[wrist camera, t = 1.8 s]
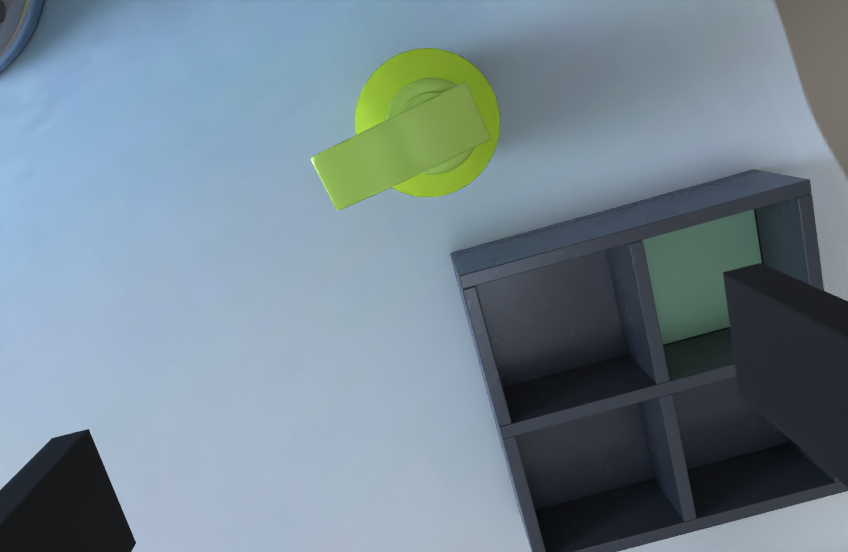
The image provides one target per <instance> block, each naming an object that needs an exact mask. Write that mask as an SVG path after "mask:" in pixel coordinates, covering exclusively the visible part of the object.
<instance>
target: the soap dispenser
mask: <svg viewBox="0 0 848 552" xmlns="http://www.w3.org/2000/svg"><path fill="white" fill-rule="evenodd" d="M499 130H500V115H499V108H498V104H497V100H496V97H495V94H494V92H493V90H492V88H491V86H490V84H489V83H488V81H487V79H486V78H485V77H484V75H483V74H482V73H481V72H480V71H479V70H478V69H477V68H476V67H475V66H474V65H473V64H471V63H470V62H469V61H467V60H466V59H464V58H462V57H461V56H459V55H457V54H454V53H452V52H449V51H445V50H441V49H433V48H422V49H414V50H410V51H406V52H403V53H401V54H398V55H396V56H394V57H392V58H391V59H389V60H388V61H386V62H385V63H383V64H382V65H381V66H380V67H379V68H378V69H377V70H376V71H375V72H374V73H373V74H372V75H371V77H370V78H369V79H368V81H367V82H366V84H365V86H364V88H363V90H362V92H361V94H360V97H359V99H358V103H357V107H356V113H355V133H356V135H355V136H353V137H351V138H349V139H347V140H345V141H343V142H341V143H339V144H337V145H335V146H333V147H331V148H329V149H327V150H325V151H323V152H321V153H319V154H317V155H315V156H313V157H311V161H312V164H313V166H314V168H315V170H316V172H317V174H318V175H319V177H320V179H321V181H322V183H323V185H324V187H325V189H326V191H327V193H328V195H329V197H330V199H331V201H332V203H333V205H334V207H335V208H336V210H341V209H344V208H346V207H348V206H351V205H353V204H355V203H357V202H360V201H362V200H364V199H366V198H368V197H371V196H373V195H375V194H377V193H380V192H382V191H384V190H386V189H388V188H391V187H392V188H393V189H395V190H397V191H400V192H402V193H405V194H408V195H412V196H418V197H436V196H442V195H446V194H449V193H452V192H455V191H457V190H459V189H461V188H463V187H465V186H466V185H468V184H469V183H470V182H472V181H473V180H474V179H475V178H476V177H477V176H478V175H479V174H480V173H481V172H482V171H483V170H484V168H485V167H486V166H487V164H488V163H489V161H490V159H491V157H492V155H493V153H494V151H495V148H496V145H497V141H498V137H499Z"/></svg>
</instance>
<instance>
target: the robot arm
mask: <svg viewBox="0 0 848 552" xmlns="http://www.w3.org/2000/svg"><path fill="white" fill-rule="evenodd" d="M43 1H44V0H0V72H1V71H2V70H4V69H5V68H6V67H7V66H8V65H9V64H10V63H11V62H12V61H13V60H14V59H15V58H16V57H17V56H18V54H19V53H20V52H21V51H22V49H23V48H24V47H25V45H26V43H27V42H28V40H29V39H30V37H31V35H32V33H33V31H34V29H35V26H36V24H37V21H38V18H39V16H40V13H41V9H42V5H43ZM723 277H724V285H725V293H726V300H727V308H728V315H729V323H730V331H731V338H732V346H733V354H734V361H735V369H736V376H737V384H738V392H739V396H740V397H741V398H743V399H744V400H745V401H746V402H747V403H748V404H750V405H751V406H752V407H753V408H754V409H755V410H757V411H758V412H759V413H760V414H761V415H763V416H764V417H765V418H766V419H767V420H768V421H770V422H771V423H772V424H773V425H774V426H776V427H777V428H778V429H779V430H780V431H781V432H783V433H784V434H785V435H786V436H787V437H788V438H790V439H791V440H792V441H793V442H794V443H796V444H797V445H798V446H799V447H800V448H801V449H803V450H804V451H805V452H806V453H807V454H809V455H810V456H811V457H812V458H813V459H814V460H816V461H817V462H818V463H819V464H820V465H822V466H823V467H824V468H825V469H826V470H827V471H829V472H830V473H831V474H832V475H833V476H834V477H836V478H837V479H838V480H839V481H840V482H842V483H843V484H844V485H845V486H846V487H847V488H848V301H845V300H843V299H841V298H839V297H836V296H834V295H832V294H830V293H827V292H825V291H823V290H821V289H818V288H816V287H814V286H812V285H809V284H807V283H805V282H802V281H800V280H798V279H796V278H793V277H791V276H789V275H787V274H784V273H782V272H780V271H778V270H775V269H773V268H771V267H768V266H766V265H764V264H762V263H758V264H754V265H750V266H746V267H742V268H738V269H734V270H730V271H726V272H723ZM135 544H136V542H135V539H134V537H133V535H132V532H131V530H130V527H129V525H128V523H127V520H126V518H125V515H124V513H123V511H122V508H121V506H120V503H119V501H118V499H117V496H116V494H115V491H114V489H113V487H112V484H111V482H110V479H109V477H108V475H107V472H106V470H105V467H104V465H103V463H102V460H101V458H100V455H99V453H98V451H97V448H96V446H95V443H94V441H93V439H92V436H91V434H90V431H89V429H88V430H84V431H80V432H76V433H71V434H67V435H63V436H59V437H55V438H52V439H51V440H50V441H49V442H48V443H47V444H46V445H45V446H44V447H43V448H42V449H41V450H40V451H39V452H38V453H37V454H36V455H35V456H34V457H33V458H32V459H31V460H30V461H29V462H28V463H27V464H26V465H25V466H24V467H23V468H22V469H21V470H20V471H19V472H18V473H17V474H16V475H15V476H14V477H13V478H12V479H11V480H10V481H9V482H8V483H7V484H6V485H5V486H4V487H3V488H2V489H1V490H0V552H131V551H132V549H133V547H134V546H135Z"/></svg>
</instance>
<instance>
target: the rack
mask: <svg viewBox="0 0 848 552" xmlns="http://www.w3.org/2000/svg"><path fill="white" fill-rule="evenodd" d="M450 256H451V260H452V263H453V267H454V271H455V275H456V278H457V282H458V286H459V289H460V293H461V297H462V300H463V304H464V308H465V312H466V315H467V319H468V323H469V326H470V330H471V334H472V337H473V341H474V345H475V349H476V352H477V356H478V360H479V363H480V367H481V371H482V374H483V378H484V382H485V386H486V389H487V393H488V397H489V400H490V404H491V408H492V411H493V415H494V419H495V423H496V426H497V430H498V434H499V437H500V441H501V445H502V448H503V452H504V456H505V460H506V463H507V467H508V471H509V474H510V478H511V482H512V485H513V489H514V493H515V497H516V500H517V504H518V508H519V511H520V515H521V518H522V522H523V525H524V528H525V532H526V535H527V538H528V541H529V545H530V548H531V551H532V552H617V551H621V550H625V549H629V548H632V547H636V546H640V545H644V544H648V543H651V542H655V541H659V540H663V539H667V538H670V537H674V536H678V535H682V534H686V533H689V532H693V531H697V530H701V529H705V528H709V527H712V526H716V525H720V524H724V523H728V522H731V521H735V520H739V519H743V518H747V517H750V516H754V515H758V514H762V513H766V512H769V511H773V510H777V509H781V508H785V507H788V506H792V505H796V504H800V503H804V502H807V501H811V500H815V499H819V498H823V497H826V496H830V495H834V494H838V493H842V492H845V491H848V488H847V487H846V486H845V485H844V484H843V483H842V482H840V481H839V480H838V479H837V478H836V477H834V476H833V475H832V474H831V473H830V472H829V471H827V470H826V469H825V468H824V467H823V466H822V465H820V464H819V463H818V462H817V461H816V460H814V459H813V458H812V457H811V456H810V455H809V454H807V453H806V452H805V451H804V450H803V449H801V448H800V447H799V446H798V445H797V444H796V443H794V442H793V441H792V440H791V439H790V438H788V437H787V436H786V435H785V434H784V433H783V432H781V431H780V430H779V429H778V428H777V427H776V426H774V425H773V424H772V423H771V422H770V421H768V420H767V419H766V418H765V417H764V416H763V415H761V414H760V413H759V412H758V411H757V410H755V409H754V408H753V407H752V406H751V405H750V404H748V403H747V402H746V401H745V400H744V399H743V398H741V397H740V396H739V392H738V384H737V376H736V369H735V361H734V354H733V346H732V338H731V331H730V323H729V315H728V308H727V300H726V293H725V285H724V277H723V272H726V271H730V270H734V269H738V268H742V267H746V266H750V265H754V264H758V263H762V264H764V265H766V266H768V267H771V268H773V269H775V270H778V271H780V272H782V273H784V274H787V275H789V276H791V277H793V278H796V279H798V280H800V281H802V282H805V283H807V284H809V285H812V286H814V287H816V288H818V289H821V290H823V291H824V288H823V280H822V272H821V264H820V257H819V249H818V241H817V233H816V225H815V217H814V209H813V201H812V195H811V185H810V180H809V179H803V178H798V177H792V176H786V175H781V174H775V173H770V172H764V171H758V170H751V171H747V172H743V173H740V174H736V175H733V176H729V177H725V178H722V179H718V180H714V181H711V182H707V183H704V184H700V185H696V186H693V187H689V188H686V189H682V190H678V191H675V192H671V193H667V194H664V195H660V196H657V197H653V198H649V199H646V200H642V201H638V202H635V203H631V204H628V205H624V206H620V207H617V208H613V209H610V210H606V211H602V212H599V213H595V214H591V215H588V216H584V217H581V218H577V219H573V220H570V221H566V222H563V223H559V224H555V225H552V226H548V227H544V228H541V229H537V230H534V231H530V232H526V233H523V234H519V235H515V236H512V237H508V238H505V239H501V240H497V241H494V242H490V243H487V244H483V245H479V246H476V247H472V248H468V249H465V250H461V251H458V252H454V253H451V254H450Z"/></svg>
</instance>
